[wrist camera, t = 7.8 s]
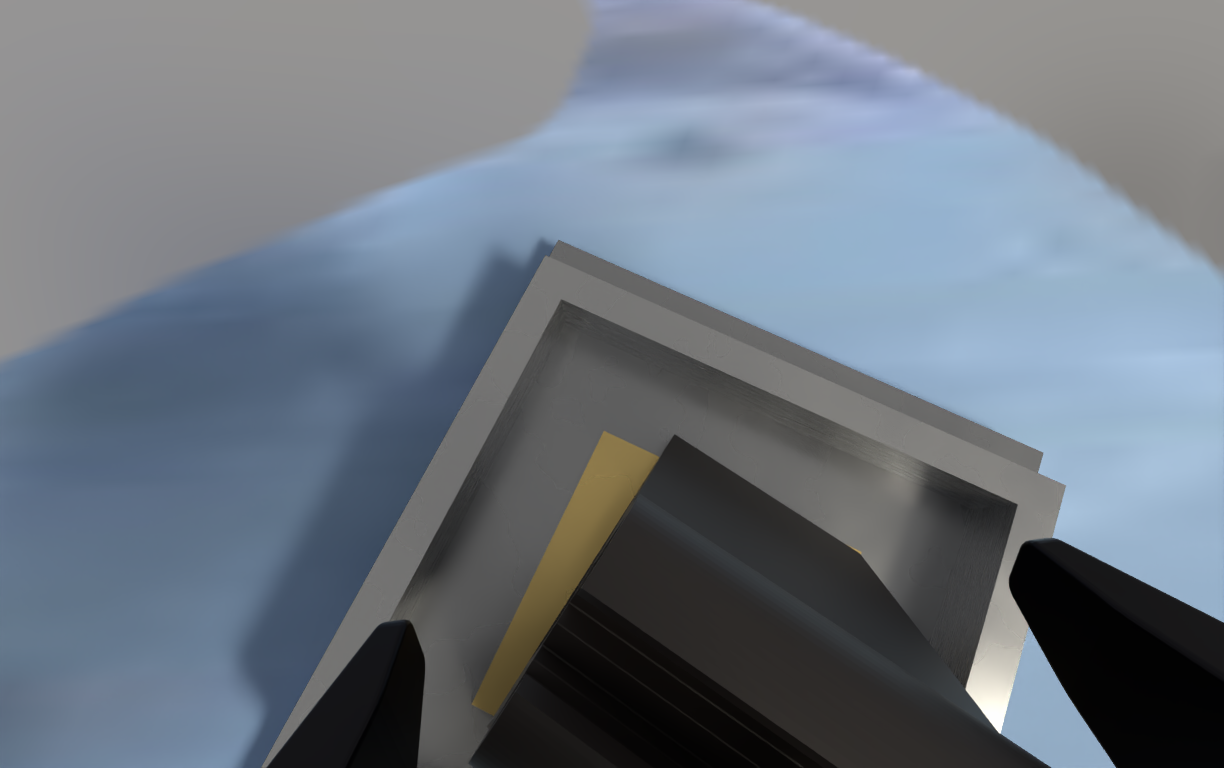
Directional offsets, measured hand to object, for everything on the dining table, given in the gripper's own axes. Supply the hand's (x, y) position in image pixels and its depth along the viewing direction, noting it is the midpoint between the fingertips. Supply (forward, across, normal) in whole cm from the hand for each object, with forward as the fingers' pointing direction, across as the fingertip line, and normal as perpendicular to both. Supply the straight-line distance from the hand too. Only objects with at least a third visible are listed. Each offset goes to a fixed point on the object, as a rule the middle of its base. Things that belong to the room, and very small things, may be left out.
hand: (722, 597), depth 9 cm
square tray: (+5, 0, +7) cm, 9 cm away
